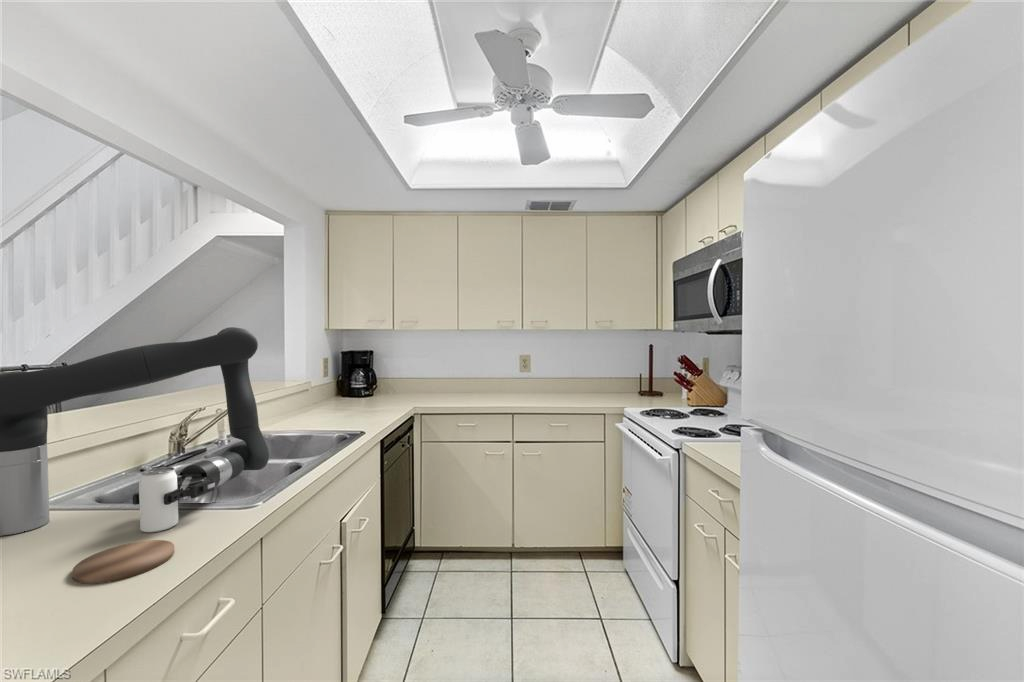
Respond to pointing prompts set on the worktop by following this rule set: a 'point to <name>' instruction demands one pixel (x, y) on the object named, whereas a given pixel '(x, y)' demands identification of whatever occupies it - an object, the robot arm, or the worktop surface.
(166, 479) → the can
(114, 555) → the disc
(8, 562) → the worktop surface
